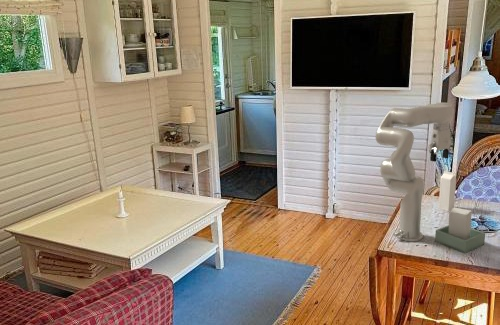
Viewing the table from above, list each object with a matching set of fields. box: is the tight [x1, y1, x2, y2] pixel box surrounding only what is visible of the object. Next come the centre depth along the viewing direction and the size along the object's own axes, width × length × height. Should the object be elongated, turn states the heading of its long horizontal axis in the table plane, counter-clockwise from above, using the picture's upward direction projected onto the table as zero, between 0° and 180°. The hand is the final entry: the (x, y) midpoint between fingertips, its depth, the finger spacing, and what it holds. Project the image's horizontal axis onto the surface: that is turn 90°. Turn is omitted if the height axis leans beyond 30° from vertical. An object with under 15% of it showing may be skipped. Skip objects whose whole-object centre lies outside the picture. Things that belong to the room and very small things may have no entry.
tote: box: [434, 224, 486, 254], centre depth 211 cm, size 15×16×6 cm
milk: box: [438, 170, 457, 212], centre depth 250 cm, size 6×6×22 cm
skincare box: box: [448, 206, 472, 240], centre depth 209 cm, size 8×7×16 cm
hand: (439, 159), depth 231 cm, fingers open, 9 cm apart
